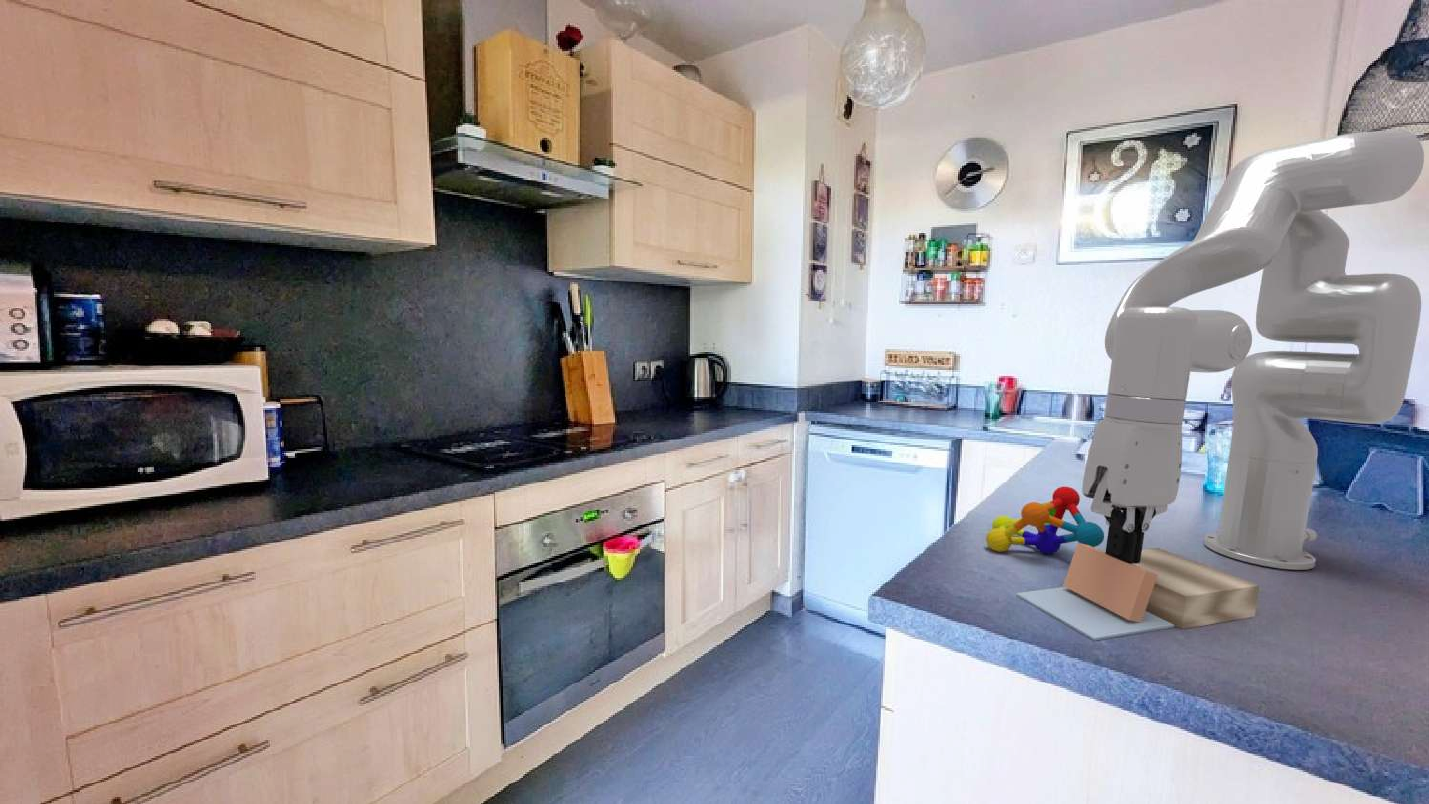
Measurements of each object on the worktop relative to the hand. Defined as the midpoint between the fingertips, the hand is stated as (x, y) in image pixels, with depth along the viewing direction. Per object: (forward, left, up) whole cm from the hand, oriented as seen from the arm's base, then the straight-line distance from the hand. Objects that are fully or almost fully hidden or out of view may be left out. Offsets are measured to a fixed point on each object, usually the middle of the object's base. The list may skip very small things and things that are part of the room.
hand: (1122, 559), depth 70 cm
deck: (-9, 0, -6) cm, 11 cm away
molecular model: (-5, -18, -7) cm, 20 cm away
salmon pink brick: (0, 0, -3) cm, 3 cm away
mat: (+4, 0, -6) cm, 7 cm away
